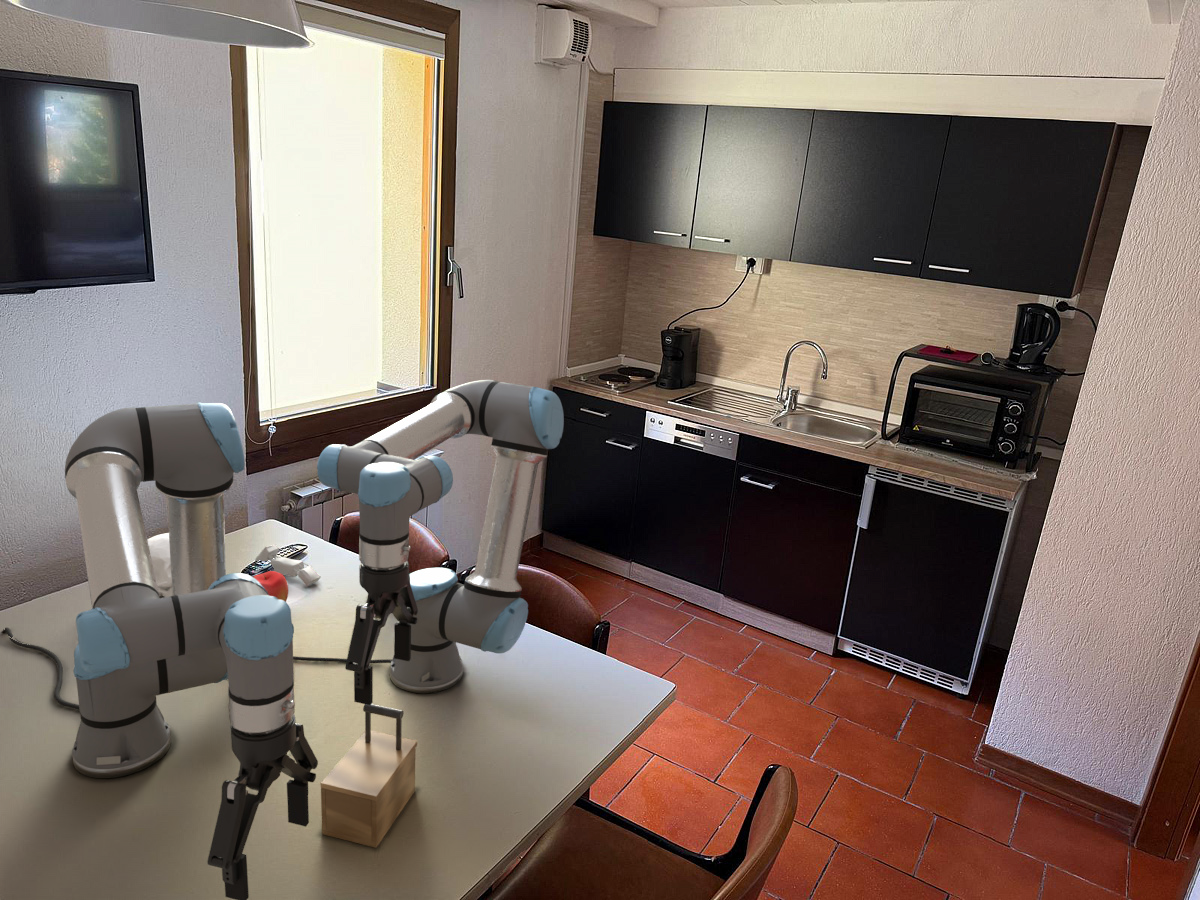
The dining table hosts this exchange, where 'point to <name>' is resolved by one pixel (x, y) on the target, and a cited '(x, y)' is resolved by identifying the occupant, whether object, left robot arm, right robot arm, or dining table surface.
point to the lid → (371, 758)
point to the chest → (367, 809)
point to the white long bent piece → (288, 565)
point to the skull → (161, 563)
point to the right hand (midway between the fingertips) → (383, 679)
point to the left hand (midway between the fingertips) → (269, 858)
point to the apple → (274, 584)
